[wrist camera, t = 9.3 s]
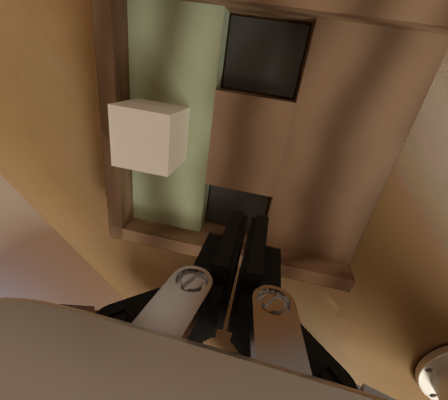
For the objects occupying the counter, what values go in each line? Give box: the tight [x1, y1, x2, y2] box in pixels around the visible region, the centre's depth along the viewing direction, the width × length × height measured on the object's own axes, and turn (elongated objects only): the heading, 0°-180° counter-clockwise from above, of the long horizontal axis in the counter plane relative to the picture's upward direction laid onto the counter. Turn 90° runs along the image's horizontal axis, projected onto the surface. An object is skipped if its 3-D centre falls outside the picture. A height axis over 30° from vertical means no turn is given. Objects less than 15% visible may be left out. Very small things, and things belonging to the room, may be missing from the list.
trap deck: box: [91, 0, 448, 292], centre depth 25 cm, size 26×24×5 cm
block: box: [108, 98, 190, 177], centre depth 23 cm, size 5×5×5 cm
